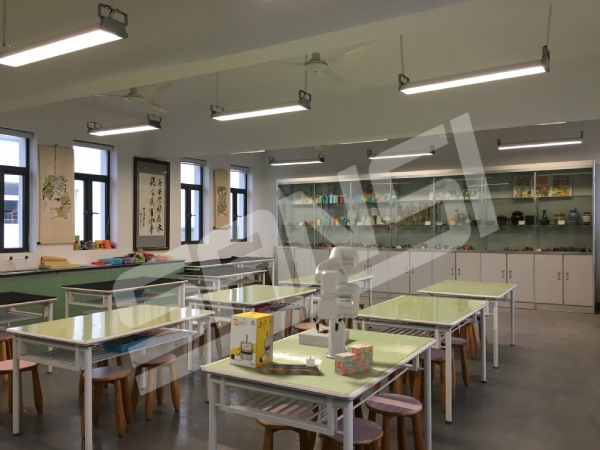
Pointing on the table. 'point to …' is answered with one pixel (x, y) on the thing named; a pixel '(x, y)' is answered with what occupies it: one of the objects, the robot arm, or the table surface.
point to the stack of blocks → (354, 359)
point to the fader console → (289, 369)
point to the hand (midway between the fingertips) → (327, 331)
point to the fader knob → (310, 361)
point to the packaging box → (251, 339)
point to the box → (317, 337)
